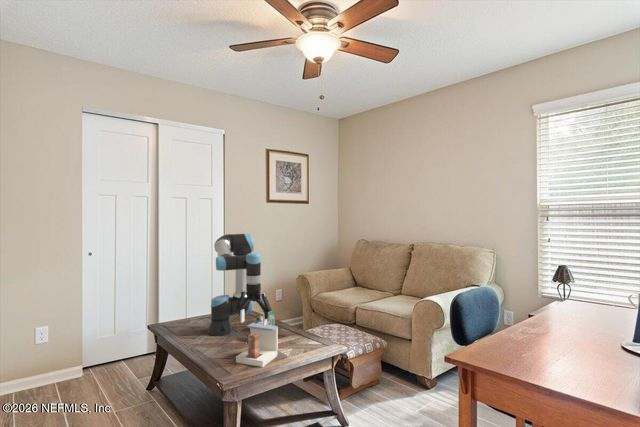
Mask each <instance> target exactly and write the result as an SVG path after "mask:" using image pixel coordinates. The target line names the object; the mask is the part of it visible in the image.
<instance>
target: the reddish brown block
mask: <svg viewBox="0 0 640 427" xmlns="http://www.w3.org/2000/svg"><path fill="white" fill-rule="evenodd" d="M247 336H248V337H247V343H248V345H247V346H248V347H247V349H248V358H252V359H257V358H258V357H259V334H255V333H252V334H251V333H250V334H248V335H247Z"/></svg>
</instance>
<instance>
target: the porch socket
mask: <svg viewBox="0 0 640 427" xmlns="http://www.w3.org/2000/svg"><path fill="white" fill-rule="evenodd" d="M247 328H248V329H250V328H251V332H250V334H252V333H255V334H259V357H258V358H257V359H252V358H248V348H247V349H246V350H245V351H243V352H241V353H239V354H238V355H236V356H235V363H237V364H242V365H248V366H255V367H258V368H259V367H261V368H264V367H265V366H266V365H268V364H269V363H270V362H272V361H273V360H274V359H275V358H276V357H278V356H279V344H278V342H279V338H278V337H279V335H278V334H279V333H278V332H279V327H278V325H275V326H273V325H265V326H263V324H257V323H256V322H254V323H253V322H252V323H249V324H247V325H246V329H247Z"/></svg>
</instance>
